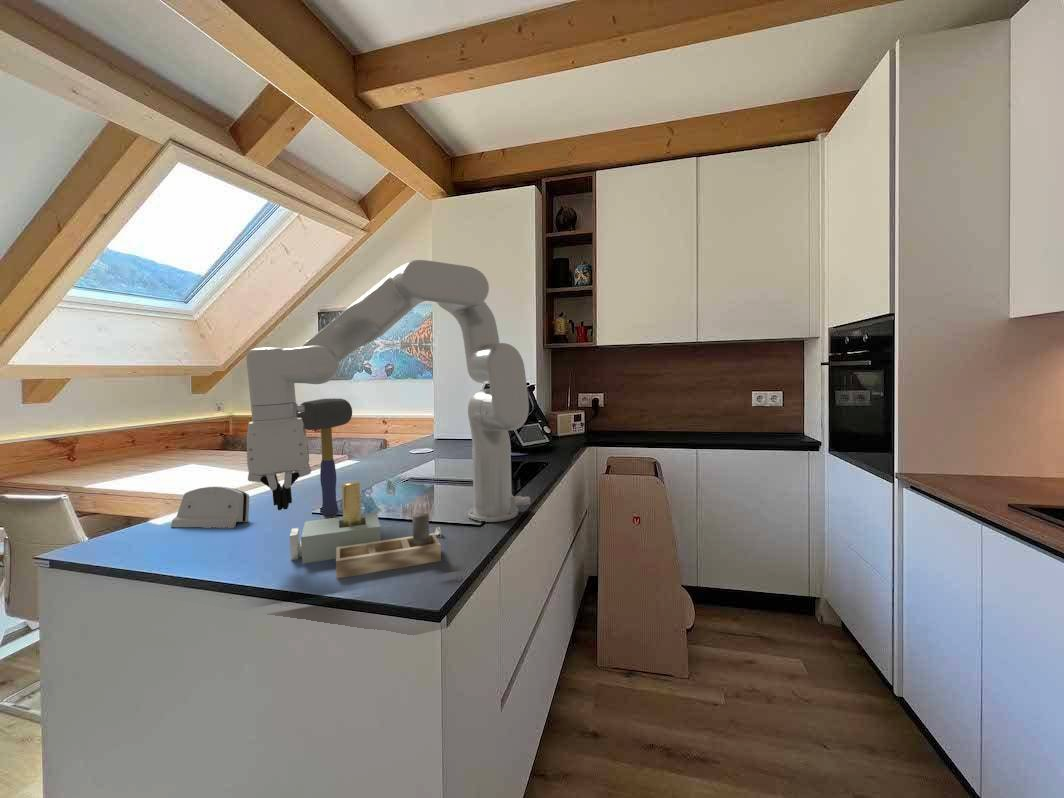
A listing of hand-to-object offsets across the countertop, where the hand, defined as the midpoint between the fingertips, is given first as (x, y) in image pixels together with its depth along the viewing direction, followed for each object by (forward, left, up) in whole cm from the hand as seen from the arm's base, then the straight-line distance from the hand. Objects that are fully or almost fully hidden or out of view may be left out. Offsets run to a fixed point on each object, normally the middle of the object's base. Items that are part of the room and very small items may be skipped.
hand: (283, 507), depth 91 cm
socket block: (-10, 0, -11) cm, 15 cm away
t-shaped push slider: (-5, 0, -10) cm, 11 cm away
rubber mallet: (-7, -27, -11) cm, 30 cm away
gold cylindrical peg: (-12, 0, -10) cm, 16 cm away
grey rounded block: (+19, -35, -11) cm, 41 cm away
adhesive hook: (-28, +1, -11) cm, 30 cm away
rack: (-18, +11, -11) cm, 24 cm away
